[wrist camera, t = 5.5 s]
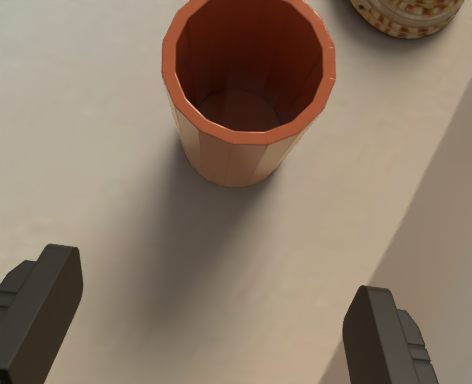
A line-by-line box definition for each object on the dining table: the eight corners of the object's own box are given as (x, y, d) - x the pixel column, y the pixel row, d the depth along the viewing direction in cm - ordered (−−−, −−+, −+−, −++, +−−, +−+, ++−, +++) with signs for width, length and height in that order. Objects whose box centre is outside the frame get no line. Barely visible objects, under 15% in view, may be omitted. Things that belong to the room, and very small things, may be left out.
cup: (205, 203, 24) (200, 171, 14) (166, 106, 25) (136, 11, 15) (302, 164, 25) (363, 108, 15) (262, 71, 25) (294, -42, 16)
